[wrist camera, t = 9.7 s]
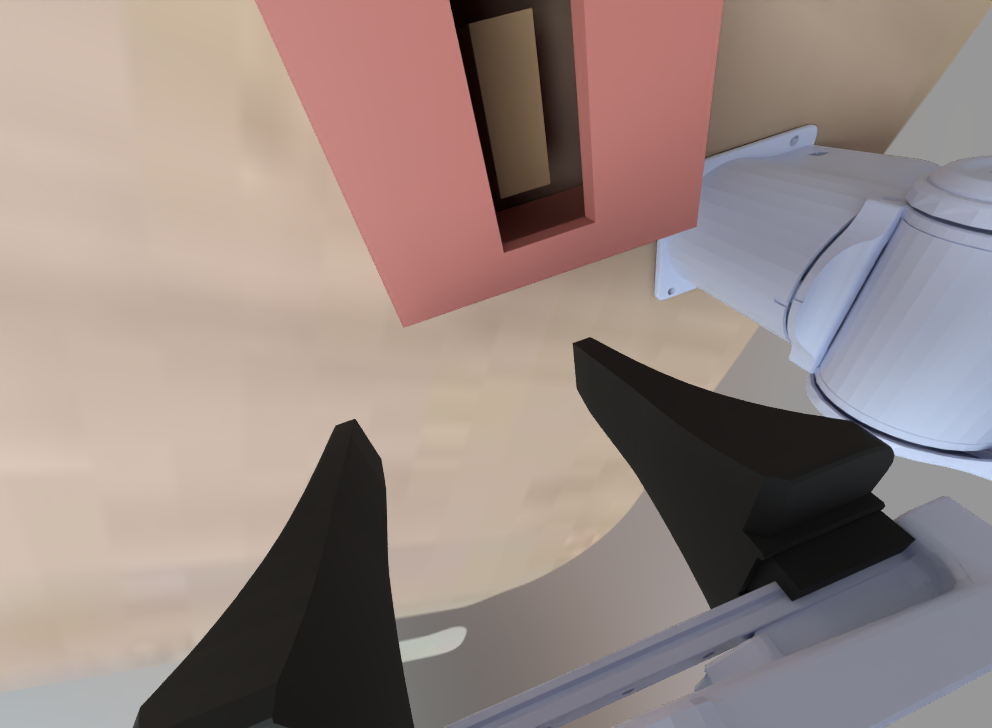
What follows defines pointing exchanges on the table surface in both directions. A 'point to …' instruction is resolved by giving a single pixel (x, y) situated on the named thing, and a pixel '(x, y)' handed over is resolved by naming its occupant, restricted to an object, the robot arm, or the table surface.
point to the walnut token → (506, 100)
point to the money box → (457, 151)
